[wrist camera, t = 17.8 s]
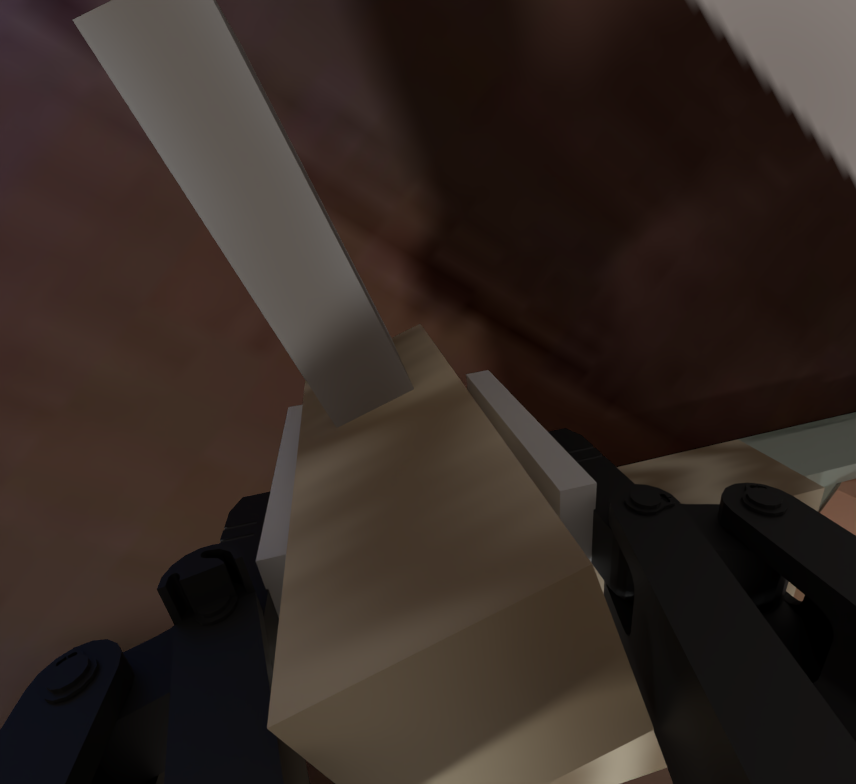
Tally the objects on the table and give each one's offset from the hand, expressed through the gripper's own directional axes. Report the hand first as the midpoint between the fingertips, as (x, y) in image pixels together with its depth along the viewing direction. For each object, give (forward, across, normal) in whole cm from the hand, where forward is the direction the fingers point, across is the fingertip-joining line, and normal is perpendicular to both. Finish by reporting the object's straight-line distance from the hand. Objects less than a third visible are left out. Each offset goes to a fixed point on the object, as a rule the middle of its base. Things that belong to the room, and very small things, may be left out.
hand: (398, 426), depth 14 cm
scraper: (+1, 0, -1) cm, 1 cm away
